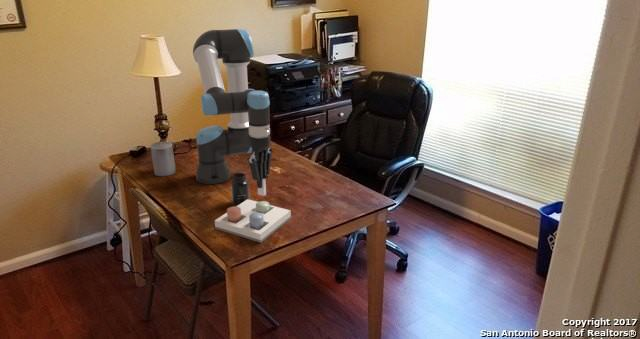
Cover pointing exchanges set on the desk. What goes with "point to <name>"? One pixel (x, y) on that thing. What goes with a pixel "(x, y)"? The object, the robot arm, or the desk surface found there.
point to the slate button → (256, 220)
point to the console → (242, 228)
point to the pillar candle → (163, 158)
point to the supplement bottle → (240, 189)
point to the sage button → (262, 207)
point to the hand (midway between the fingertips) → (261, 194)
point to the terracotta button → (234, 214)
